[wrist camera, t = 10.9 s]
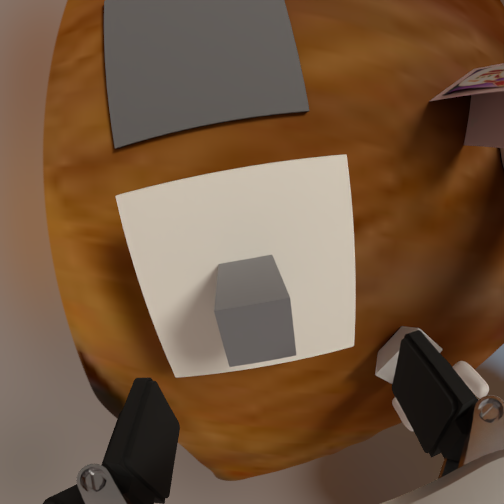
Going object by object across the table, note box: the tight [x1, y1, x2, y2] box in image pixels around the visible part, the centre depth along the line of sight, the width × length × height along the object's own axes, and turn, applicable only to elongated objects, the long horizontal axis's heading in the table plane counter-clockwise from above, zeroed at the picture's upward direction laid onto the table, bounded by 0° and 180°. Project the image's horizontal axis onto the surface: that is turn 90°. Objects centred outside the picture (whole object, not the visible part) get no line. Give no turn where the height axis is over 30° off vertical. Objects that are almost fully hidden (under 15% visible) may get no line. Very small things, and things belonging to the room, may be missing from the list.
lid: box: [116, 155, 355, 378], centre depth 17 cm, size 15×15×7 cm
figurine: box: [375, 326, 489, 431], centre depth 24 cm, size 7×9×15 cm
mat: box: [104, 0, 309, 148], centre depth 19 cm, size 17×17×1 cm
